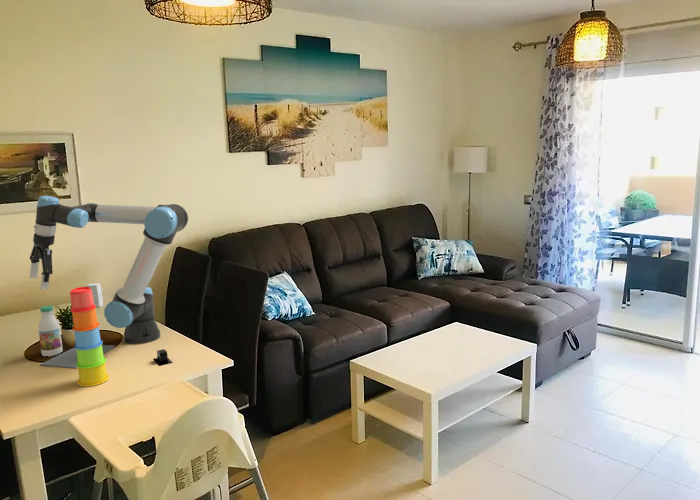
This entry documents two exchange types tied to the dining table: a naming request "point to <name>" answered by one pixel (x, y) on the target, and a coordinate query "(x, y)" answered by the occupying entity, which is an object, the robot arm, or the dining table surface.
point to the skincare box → (96, 294)
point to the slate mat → (69, 358)
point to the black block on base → (162, 358)
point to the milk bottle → (49, 333)
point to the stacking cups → (87, 338)
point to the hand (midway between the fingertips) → (38, 283)
